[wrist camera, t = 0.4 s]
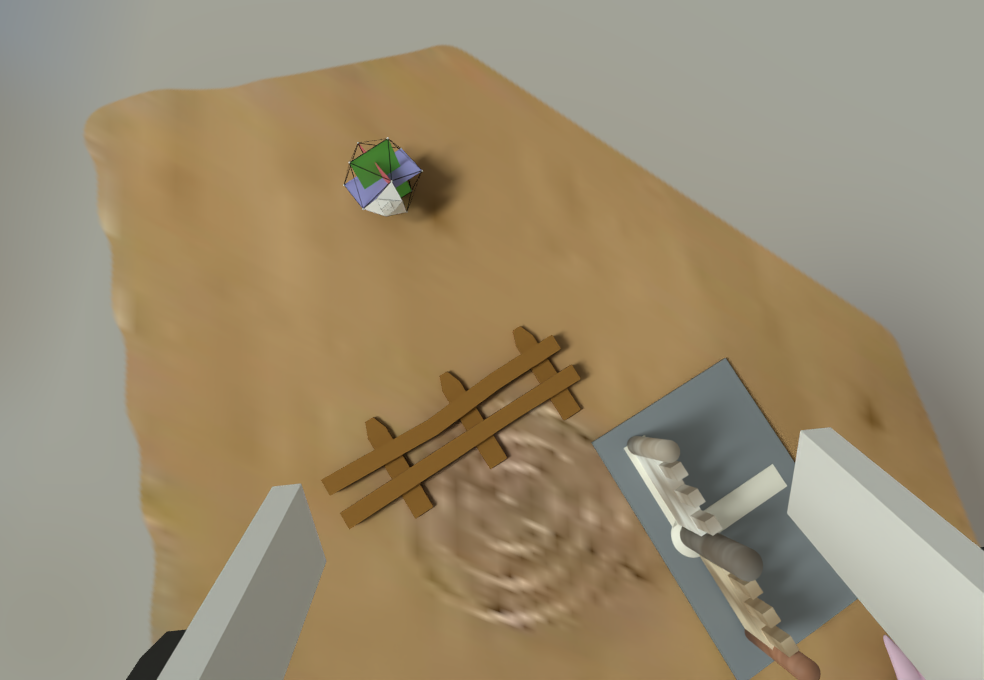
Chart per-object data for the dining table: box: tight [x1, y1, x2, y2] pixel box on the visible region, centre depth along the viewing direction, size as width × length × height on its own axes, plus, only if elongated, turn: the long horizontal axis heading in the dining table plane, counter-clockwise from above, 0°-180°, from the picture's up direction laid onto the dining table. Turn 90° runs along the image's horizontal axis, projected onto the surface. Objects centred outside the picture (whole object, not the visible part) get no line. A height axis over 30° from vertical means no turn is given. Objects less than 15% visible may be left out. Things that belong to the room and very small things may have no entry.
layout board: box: [591, 358, 858, 680], centre depth 45 cm, size 25×16×1 cm, turn 31°
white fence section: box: [627, 436, 763, 582], centre depth 41 cm, size 12×2×9 cm, turn 31°
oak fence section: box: [699, 554, 820, 680], centre depth 40 cm, size 9×2×7 cm, turn 31°
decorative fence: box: [321, 326, 581, 529], centre depth 45 cm, size 25×2×10 cm
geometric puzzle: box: [343, 137, 423, 216], centre depth 46 cm, size 7×7×8 cm
